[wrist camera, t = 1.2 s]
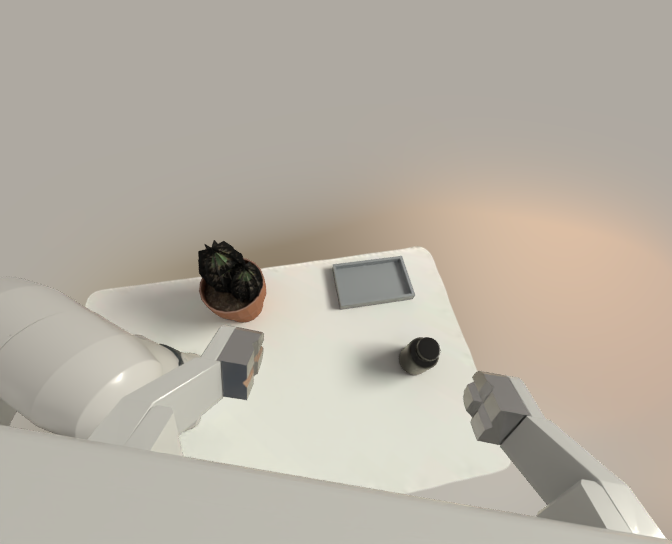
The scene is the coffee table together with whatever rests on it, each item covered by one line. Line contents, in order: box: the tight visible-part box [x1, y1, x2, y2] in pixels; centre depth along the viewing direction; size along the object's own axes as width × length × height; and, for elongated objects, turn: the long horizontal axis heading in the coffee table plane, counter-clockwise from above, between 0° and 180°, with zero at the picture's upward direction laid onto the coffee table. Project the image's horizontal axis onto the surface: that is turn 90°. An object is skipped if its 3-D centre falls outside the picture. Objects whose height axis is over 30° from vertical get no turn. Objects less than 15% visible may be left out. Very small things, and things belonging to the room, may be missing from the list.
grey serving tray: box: [333, 256, 415, 310], centre depth 75 cm, size 20×12×2 cm, turn 100°
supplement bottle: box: [399, 337, 441, 375], centre depth 62 cm, size 7×7×12 cm
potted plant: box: [198, 240, 266, 322], centre depth 60 cm, size 14×14×25 cm
